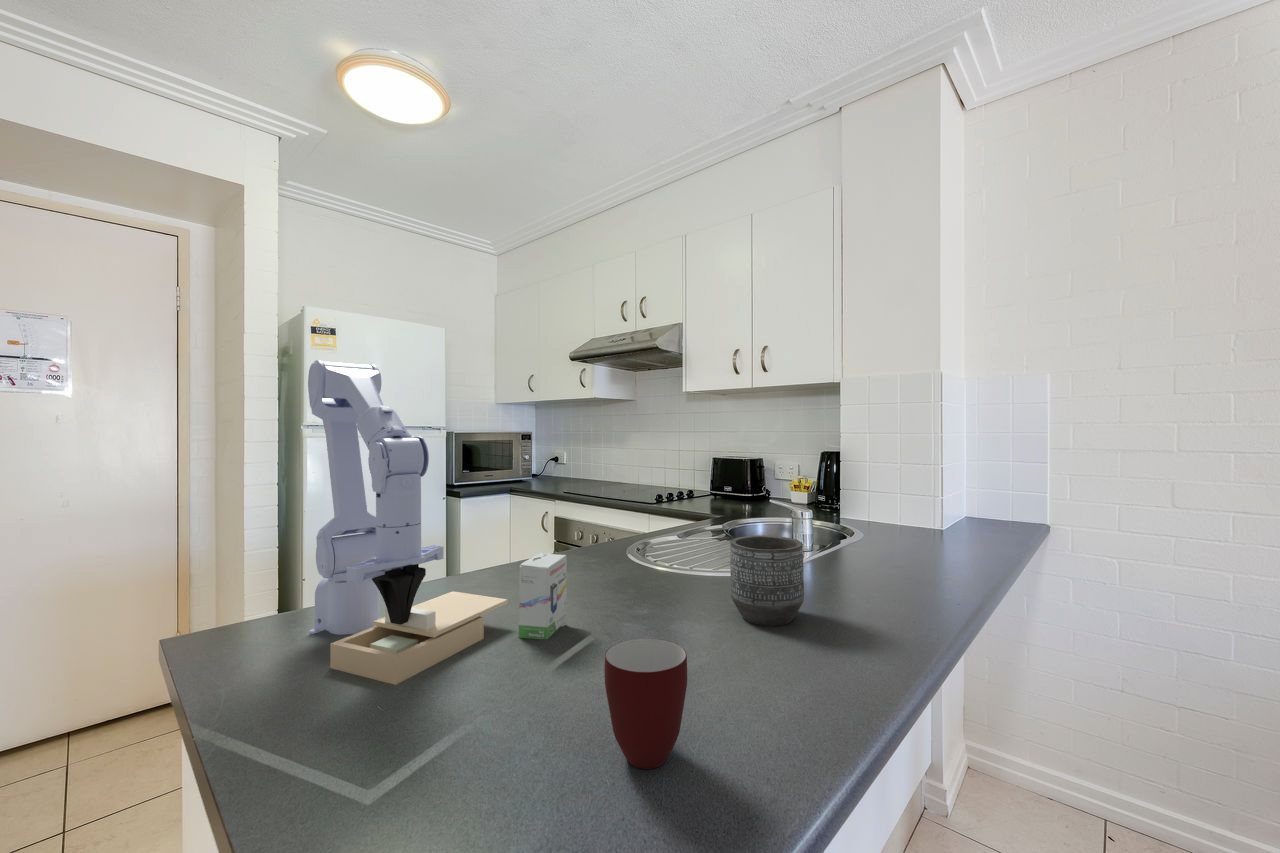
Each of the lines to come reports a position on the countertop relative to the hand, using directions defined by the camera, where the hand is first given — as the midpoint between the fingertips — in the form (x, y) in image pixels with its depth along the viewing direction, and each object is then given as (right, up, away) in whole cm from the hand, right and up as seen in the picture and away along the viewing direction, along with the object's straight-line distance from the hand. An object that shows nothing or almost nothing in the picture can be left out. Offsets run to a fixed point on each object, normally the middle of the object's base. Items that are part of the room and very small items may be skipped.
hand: (399, 622), depth 74 cm
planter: (+55, -6, +17) cm, 58 cm away
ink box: (+18, -6, +11) cm, 22 cm away
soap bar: (0, -5, -1) cm, 5 cm away
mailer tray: (+1, -6, +2) cm, 6 cm away
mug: (+34, -5, -21) cm, 40 cm away
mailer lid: (+3, -1, +8) cm, 8 cm away
